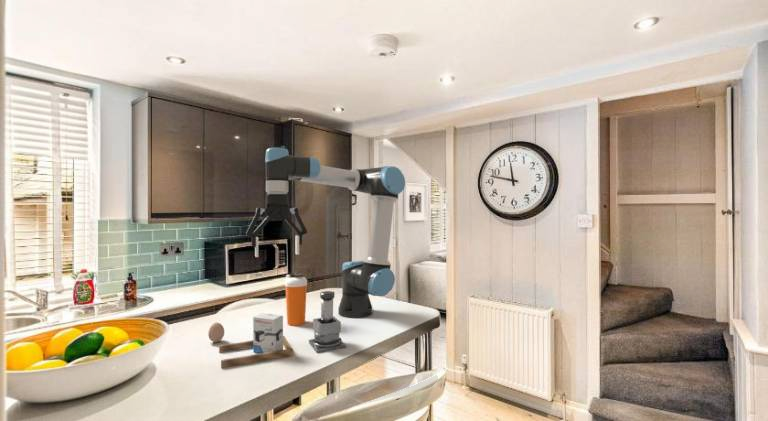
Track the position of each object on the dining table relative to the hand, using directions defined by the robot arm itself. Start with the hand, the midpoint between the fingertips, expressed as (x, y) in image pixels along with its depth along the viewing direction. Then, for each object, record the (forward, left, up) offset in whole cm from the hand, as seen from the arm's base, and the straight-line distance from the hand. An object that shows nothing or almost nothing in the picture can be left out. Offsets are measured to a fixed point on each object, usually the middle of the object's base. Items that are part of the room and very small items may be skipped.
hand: (277, 255), depth 130 cm
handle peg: (-15, +8, -26) cm, 31 cm away
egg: (+19, -12, -31) cm, 38 cm away
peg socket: (-15, +8, -31) cm, 35 cm away
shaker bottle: (-11, -21, -31) cm, 39 cm away
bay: (+8, +5, -31) cm, 32 cm away
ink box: (+4, +5, -31) cm, 32 cm away
